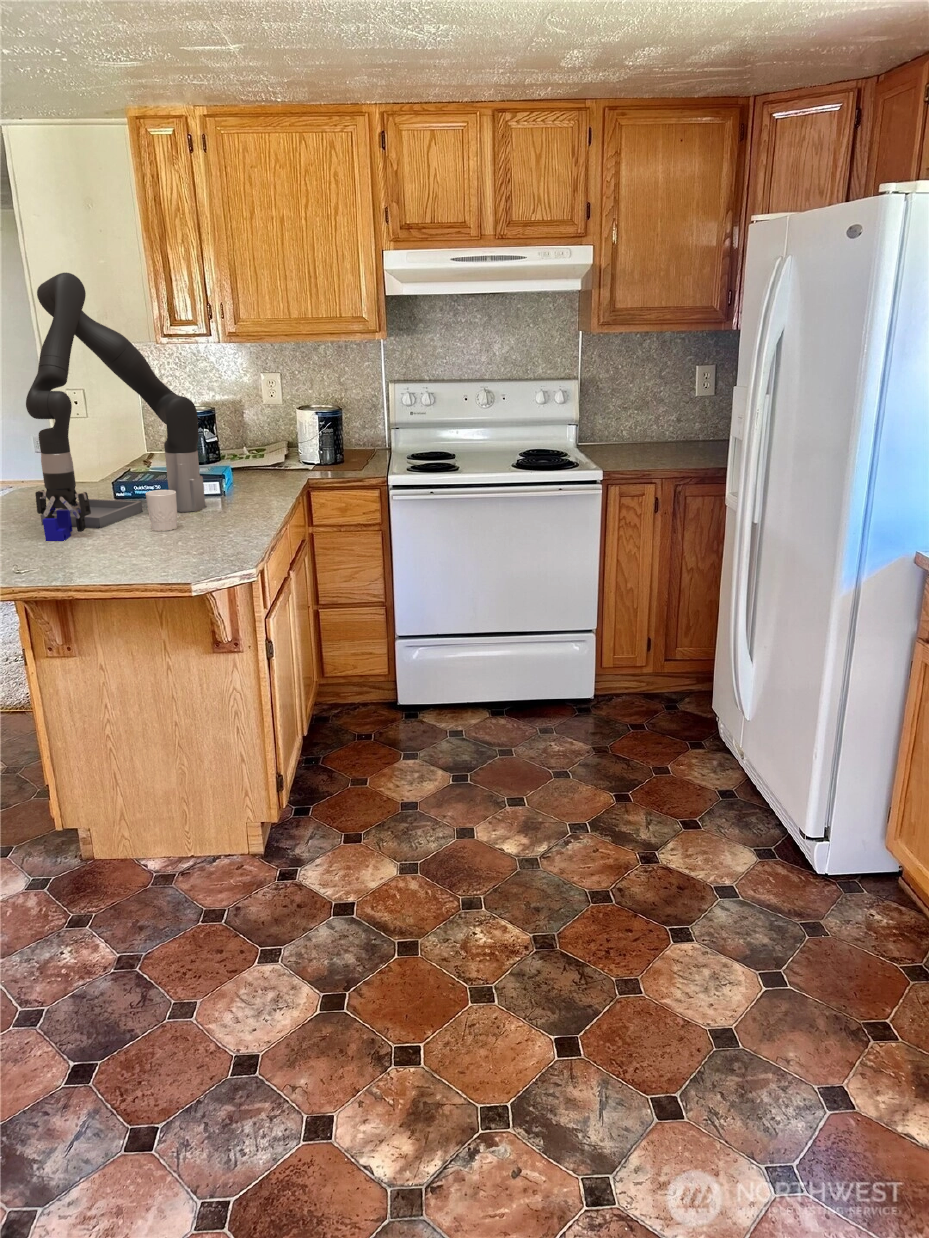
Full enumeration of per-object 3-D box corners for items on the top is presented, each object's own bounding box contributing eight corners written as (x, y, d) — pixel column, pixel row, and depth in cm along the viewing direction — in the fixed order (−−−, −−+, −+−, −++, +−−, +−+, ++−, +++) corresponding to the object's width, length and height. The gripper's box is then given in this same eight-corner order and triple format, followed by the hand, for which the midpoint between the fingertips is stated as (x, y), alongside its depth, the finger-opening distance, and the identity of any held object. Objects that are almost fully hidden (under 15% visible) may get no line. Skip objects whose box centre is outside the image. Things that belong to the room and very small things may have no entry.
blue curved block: (63, 542, 239) (60, 519, 237) (45, 542, 239) (42, 519, 237) (78, 531, 250) (75, 509, 248) (61, 531, 250) (58, 509, 248)
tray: (142, 511, 273) (141, 501, 272) (100, 528, 252) (99, 517, 251) (88, 508, 276) (86, 498, 275) (42, 525, 256) (40, 514, 255)
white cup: (185, 526, 255) (181, 490, 252) (167, 533, 248) (164, 496, 245) (161, 524, 258) (157, 489, 254) (143, 530, 251) (139, 494, 247)
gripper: (91, 468, 241) (98, 528, 247) (42, 466, 244) (51, 526, 249) (74, 473, 234) (82, 535, 240) (24, 471, 237) (33, 532, 242)
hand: (66, 530), depth 244 cm, fingers open, 8 cm apart
